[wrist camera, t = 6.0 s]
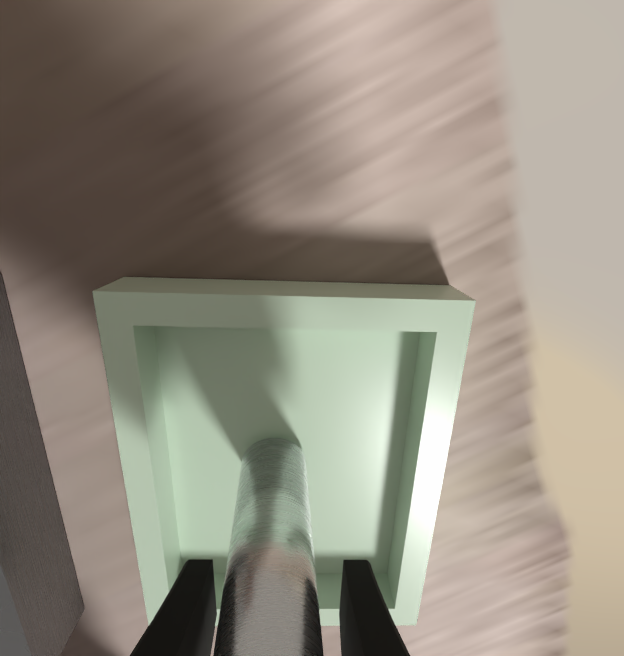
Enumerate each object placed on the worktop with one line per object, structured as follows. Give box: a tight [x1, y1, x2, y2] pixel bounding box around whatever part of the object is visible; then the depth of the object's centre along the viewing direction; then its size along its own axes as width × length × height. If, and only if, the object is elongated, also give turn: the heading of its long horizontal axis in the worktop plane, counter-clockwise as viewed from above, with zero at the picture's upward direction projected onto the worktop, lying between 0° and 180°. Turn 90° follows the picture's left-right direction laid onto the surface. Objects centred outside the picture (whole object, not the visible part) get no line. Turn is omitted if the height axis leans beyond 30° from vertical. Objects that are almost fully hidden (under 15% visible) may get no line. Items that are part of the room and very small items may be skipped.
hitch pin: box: [213, 438, 323, 656], centre depth 10 cm, size 4×4×9 cm
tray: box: [92, 277, 476, 626], centre depth 14 cm, size 14×11×2 cm
